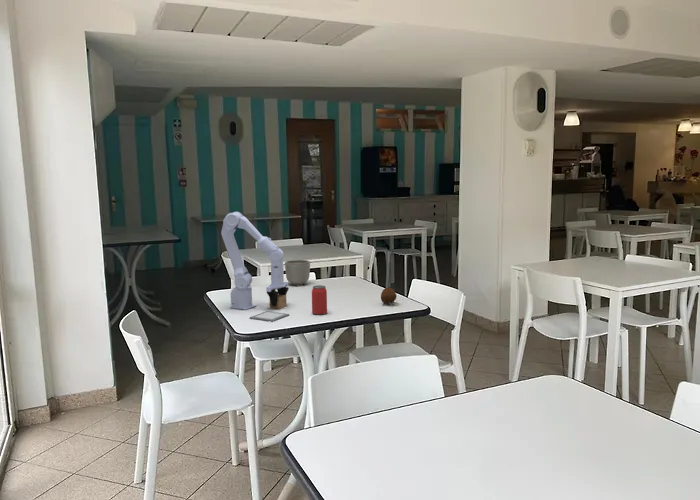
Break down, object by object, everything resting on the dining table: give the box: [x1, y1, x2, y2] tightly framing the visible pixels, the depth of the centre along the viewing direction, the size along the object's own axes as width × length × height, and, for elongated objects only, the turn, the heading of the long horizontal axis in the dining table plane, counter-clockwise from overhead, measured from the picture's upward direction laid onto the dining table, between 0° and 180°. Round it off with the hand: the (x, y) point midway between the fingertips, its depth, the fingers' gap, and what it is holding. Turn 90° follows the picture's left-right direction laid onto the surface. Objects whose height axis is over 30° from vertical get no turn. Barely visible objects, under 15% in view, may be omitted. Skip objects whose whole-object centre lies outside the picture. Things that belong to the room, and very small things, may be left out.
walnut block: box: [269, 294, 288, 310], centre depth 253 cm, size 6×6×6 cm
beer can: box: [311, 284, 328, 316], centre depth 241 cm, size 7×7×12 cm
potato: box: [380, 287, 397, 305], centre depth 257 cm, size 7×10×8 cm
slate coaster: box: [249, 310, 290, 323], centre depth 236 cm, size 12×12×1 cm
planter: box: [284, 259, 311, 286], centre depth 304 cm, size 14×14×13 cm
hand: (278, 304), depth 253 cm, fingers closed on walnut block, 5 cm apart
